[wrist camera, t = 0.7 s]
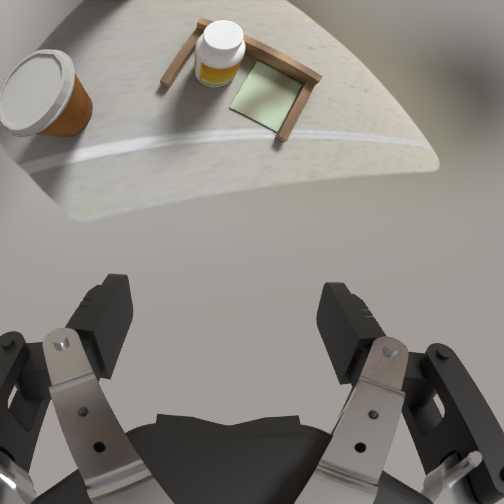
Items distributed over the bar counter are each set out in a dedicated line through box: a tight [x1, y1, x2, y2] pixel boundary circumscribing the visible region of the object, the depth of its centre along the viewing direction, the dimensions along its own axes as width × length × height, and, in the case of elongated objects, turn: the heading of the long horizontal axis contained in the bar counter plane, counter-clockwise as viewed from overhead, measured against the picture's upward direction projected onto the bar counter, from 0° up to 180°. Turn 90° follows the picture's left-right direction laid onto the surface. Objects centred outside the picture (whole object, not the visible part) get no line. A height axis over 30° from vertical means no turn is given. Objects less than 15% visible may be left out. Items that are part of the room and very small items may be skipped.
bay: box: [160, 17, 322, 142], centre depth 30 cm, size 17×10×3 cm, turn 64°
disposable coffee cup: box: [0, 49, 93, 137], centre depth 22 cm, size 10×10×12 cm
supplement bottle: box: [194, 20, 245, 87], centre depth 26 cm, size 5×5×10 cm
